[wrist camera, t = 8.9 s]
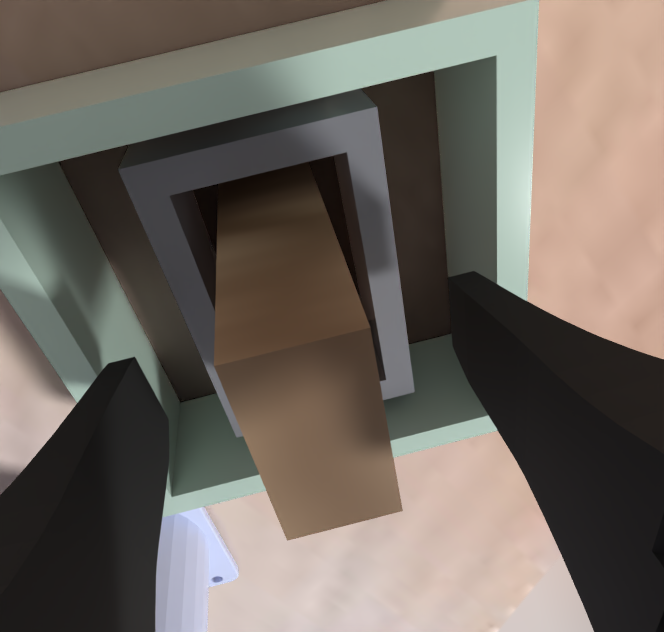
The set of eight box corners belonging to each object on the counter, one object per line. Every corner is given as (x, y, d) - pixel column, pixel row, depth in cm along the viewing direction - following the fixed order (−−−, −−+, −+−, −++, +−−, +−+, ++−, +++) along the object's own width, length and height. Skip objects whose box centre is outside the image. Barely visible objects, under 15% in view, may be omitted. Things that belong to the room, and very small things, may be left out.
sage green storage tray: (166, 423, 20) (155, 519, 16) (-14, 95, 13) (-94, 149, 9) (473, 345, 20) (522, 424, 17) (460, -18, 13) (538, -3, 10)
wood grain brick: (264, 320, 18) (287, 540, 11) (218, 178, 15) (213, 366, 8) (338, 302, 18) (402, 511, 11) (306, 157, 15) (369, 327, 8)
